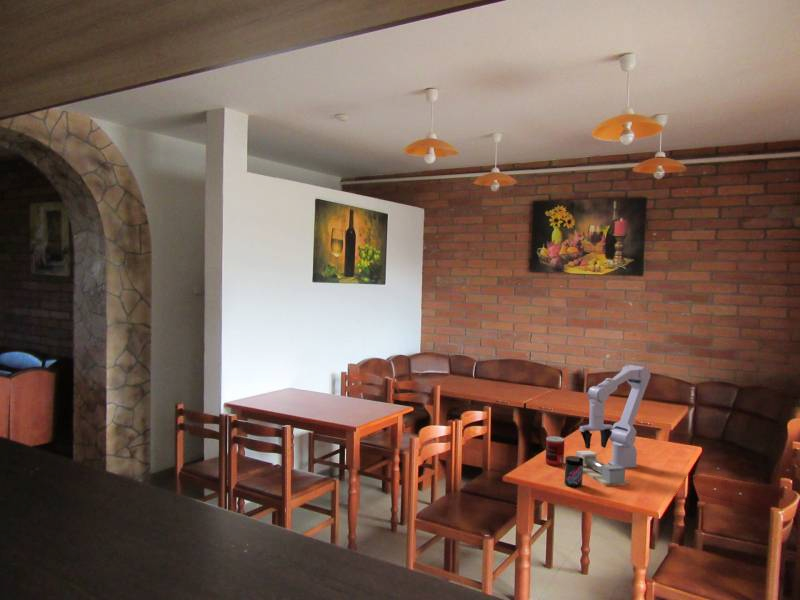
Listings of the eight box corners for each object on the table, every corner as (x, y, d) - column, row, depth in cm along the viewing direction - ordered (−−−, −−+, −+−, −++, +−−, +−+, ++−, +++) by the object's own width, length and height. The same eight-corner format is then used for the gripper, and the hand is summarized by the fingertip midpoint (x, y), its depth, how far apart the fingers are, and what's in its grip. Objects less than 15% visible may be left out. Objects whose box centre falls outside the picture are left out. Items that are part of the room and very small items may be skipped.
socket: (601, 478, 229) (602, 465, 229) (616, 477, 231) (617, 464, 230) (609, 483, 224) (610, 469, 224) (624, 482, 225) (625, 468, 225)
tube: (582, 464, 245) (582, 455, 244) (590, 464, 246) (591, 454, 245) (609, 480, 226) (609, 470, 226) (618, 479, 227) (618, 469, 227)
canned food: (562, 461, 253) (563, 436, 253) (565, 467, 245) (565, 441, 245) (544, 460, 254) (545, 435, 254) (546, 465, 246) (547, 440, 246)
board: (569, 464, 249) (569, 462, 249) (590, 463, 251) (590, 460, 251) (606, 486, 223) (606, 483, 223) (628, 484, 226) (628, 482, 226)
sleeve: (575, 463, 247) (576, 451, 247) (589, 462, 249) (590, 450, 249) (582, 467, 242) (582, 454, 242) (596, 466, 244) (596, 453, 244)
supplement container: (561, 485, 223) (562, 458, 223) (568, 480, 229) (569, 454, 228) (578, 489, 219) (579, 462, 219) (584, 484, 225) (585, 458, 224)
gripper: (605, 412, 246) (604, 443, 247) (576, 413, 242) (574, 445, 243) (616, 416, 240) (614, 448, 240) (585, 418, 236) (584, 450, 236)
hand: (595, 447), depth 241 cm, fingers open, 7 cm apart
